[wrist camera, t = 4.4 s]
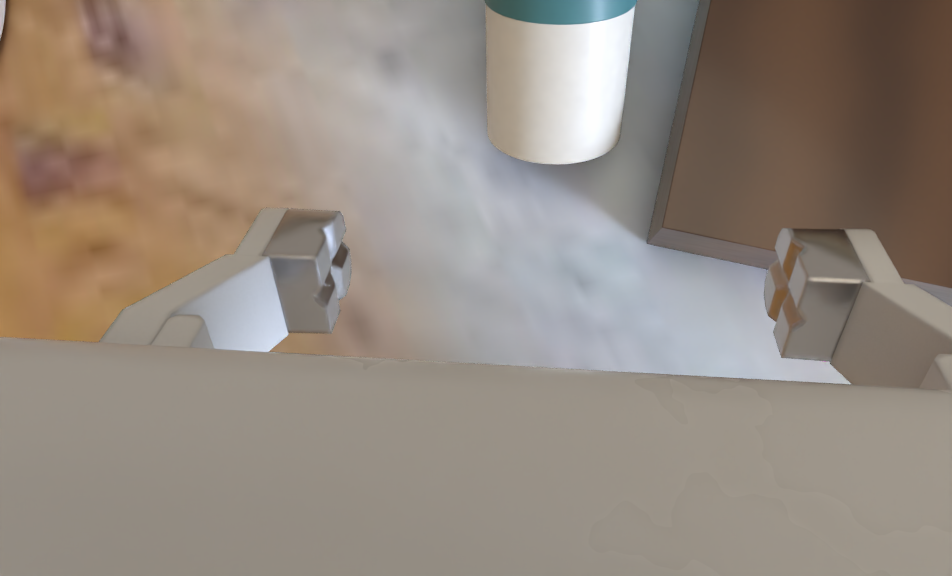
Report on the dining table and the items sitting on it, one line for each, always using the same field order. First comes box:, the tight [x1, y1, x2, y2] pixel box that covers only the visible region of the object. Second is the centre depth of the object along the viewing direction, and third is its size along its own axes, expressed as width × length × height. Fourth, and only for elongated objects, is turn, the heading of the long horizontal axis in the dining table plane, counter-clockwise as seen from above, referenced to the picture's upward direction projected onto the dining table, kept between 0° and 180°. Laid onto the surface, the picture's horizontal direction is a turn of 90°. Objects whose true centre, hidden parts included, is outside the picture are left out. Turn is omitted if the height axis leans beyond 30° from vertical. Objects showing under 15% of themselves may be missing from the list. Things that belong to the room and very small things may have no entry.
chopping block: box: [647, 0, 952, 307], centre depth 30 cm, size 13×20×4 cm, turn 167°
